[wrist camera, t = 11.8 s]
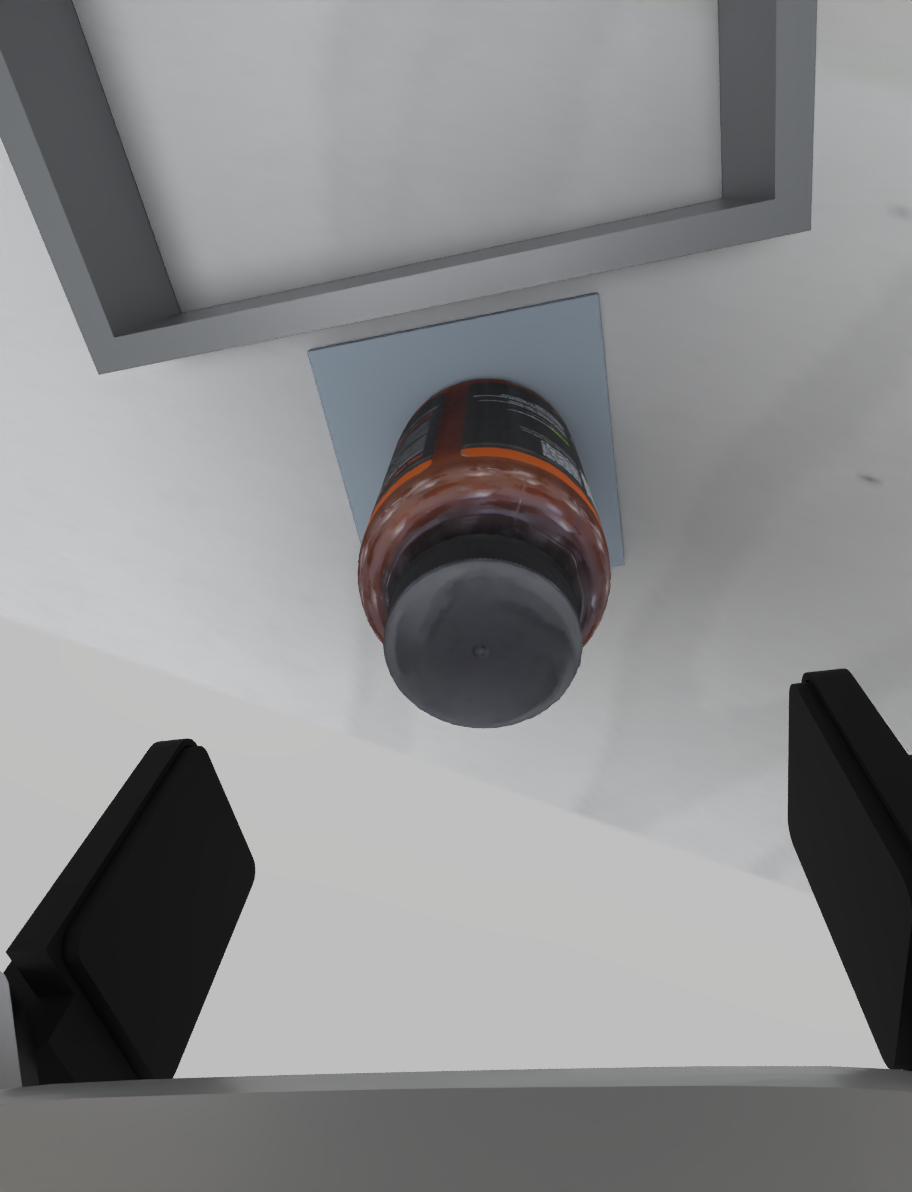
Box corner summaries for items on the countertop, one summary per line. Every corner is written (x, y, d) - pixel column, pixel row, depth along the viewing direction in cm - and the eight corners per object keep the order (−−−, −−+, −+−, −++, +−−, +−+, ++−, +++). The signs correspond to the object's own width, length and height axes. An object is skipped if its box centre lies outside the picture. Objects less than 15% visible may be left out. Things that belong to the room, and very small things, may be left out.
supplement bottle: (388, 533, 26) (318, 746, 16) (406, 360, 23) (335, 486, 13) (557, 559, 26) (592, 786, 16) (596, 389, 23) (669, 536, 13)
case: (752, 223, 21) (811, 230, 17) (155, 346, 23) (85, 377, 19) (749, -339, 16) (831, -516, 12) (-13, -103, 18) (-153, -186, 14)
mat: (622, 559, 26) (624, 564, 26) (378, 596, 27) (377, 601, 27) (596, 292, 22) (597, 293, 22) (310, 349, 23) (307, 351, 23)
